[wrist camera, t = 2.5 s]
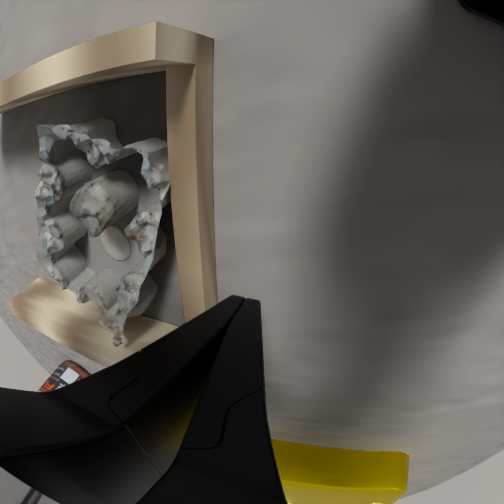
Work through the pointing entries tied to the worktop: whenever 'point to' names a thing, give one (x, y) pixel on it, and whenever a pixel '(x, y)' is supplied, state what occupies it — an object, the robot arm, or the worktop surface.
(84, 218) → the egg carton
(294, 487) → the element tile
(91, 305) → the open wooden frame
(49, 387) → the supplement bottle
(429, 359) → the worktop surface
